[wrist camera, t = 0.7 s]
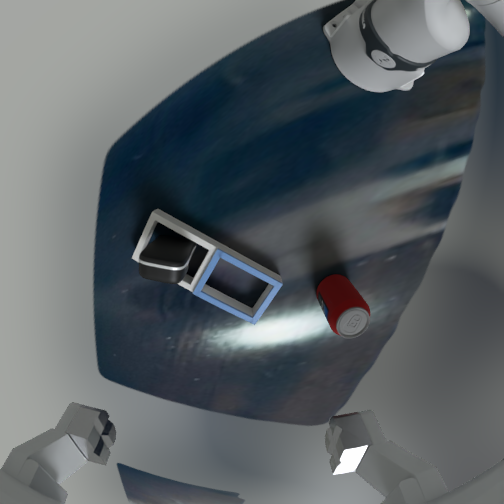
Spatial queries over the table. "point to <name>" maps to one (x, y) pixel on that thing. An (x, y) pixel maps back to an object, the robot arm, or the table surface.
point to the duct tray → (208, 265)
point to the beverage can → (343, 306)
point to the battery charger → (166, 259)
